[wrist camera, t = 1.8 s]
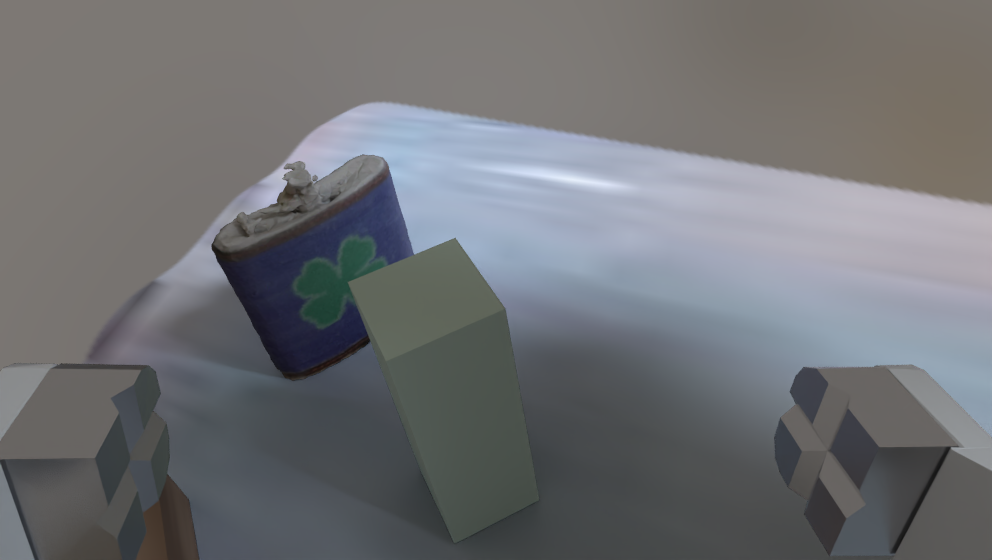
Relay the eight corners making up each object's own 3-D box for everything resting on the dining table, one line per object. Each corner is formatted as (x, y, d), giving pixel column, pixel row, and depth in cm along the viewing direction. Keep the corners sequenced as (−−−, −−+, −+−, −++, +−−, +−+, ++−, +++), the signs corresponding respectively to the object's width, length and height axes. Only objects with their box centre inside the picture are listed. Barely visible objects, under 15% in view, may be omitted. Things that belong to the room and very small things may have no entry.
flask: (409, 273, 42) (361, 114, 35) (438, 298, 40) (394, 136, 33) (269, 362, 39) (182, 206, 31) (294, 394, 37) (208, 237, 30)
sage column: (499, 431, 34) (455, 237, 25) (539, 500, 31) (505, 308, 23) (420, 469, 33) (347, 282, 24) (454, 543, 30) (386, 361, 22)
